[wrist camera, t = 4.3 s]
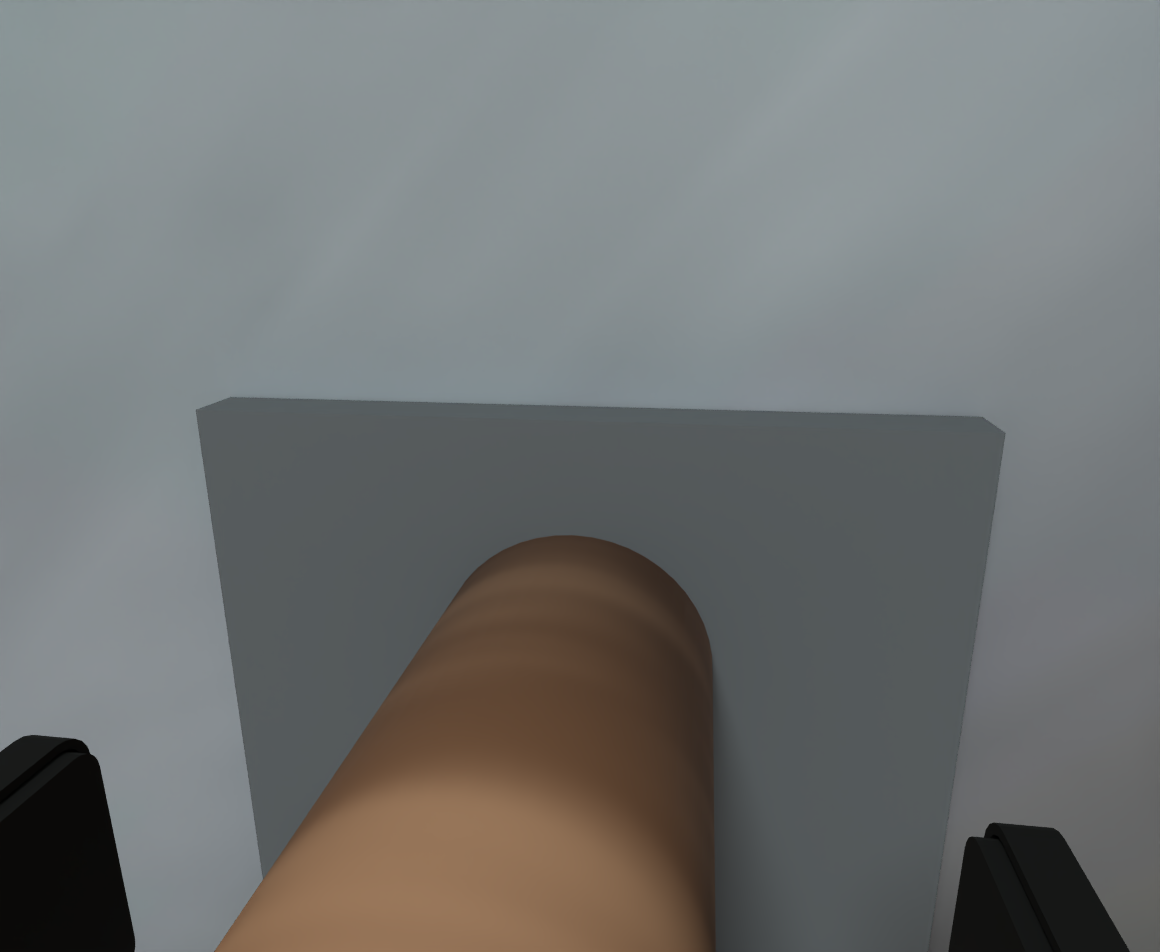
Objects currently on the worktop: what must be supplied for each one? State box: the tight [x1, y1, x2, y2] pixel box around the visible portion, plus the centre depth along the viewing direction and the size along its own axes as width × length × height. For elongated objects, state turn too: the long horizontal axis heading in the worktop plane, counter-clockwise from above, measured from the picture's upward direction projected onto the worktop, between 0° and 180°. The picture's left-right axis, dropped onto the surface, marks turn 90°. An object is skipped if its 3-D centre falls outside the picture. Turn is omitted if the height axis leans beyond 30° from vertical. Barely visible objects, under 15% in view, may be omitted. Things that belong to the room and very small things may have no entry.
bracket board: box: [196, 397, 1005, 952], centre depth 14 cm, size 17×12×4 cm
